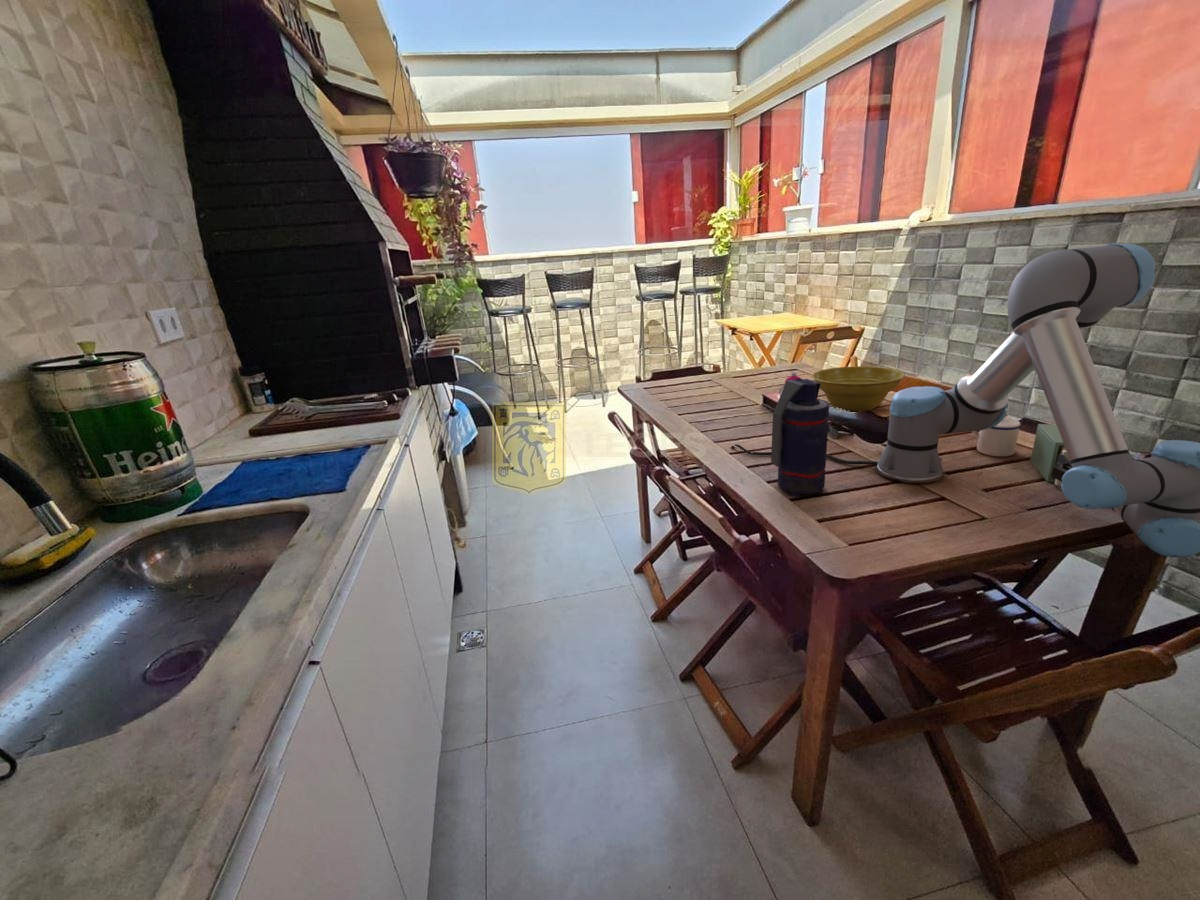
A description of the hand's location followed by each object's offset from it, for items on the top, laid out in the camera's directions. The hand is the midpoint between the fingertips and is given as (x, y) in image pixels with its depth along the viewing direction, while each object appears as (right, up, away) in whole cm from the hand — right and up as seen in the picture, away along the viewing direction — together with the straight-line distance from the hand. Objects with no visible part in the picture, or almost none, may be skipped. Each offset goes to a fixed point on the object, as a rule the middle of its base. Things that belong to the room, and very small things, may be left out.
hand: (1093, 461), depth 114 cm
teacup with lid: (-1, +3, +30) cm, 30 cm away
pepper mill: (-45, +22, +65) cm, 81 cm away
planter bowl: (-14, +20, +80) cm, 84 cm away
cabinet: (+6, -3, +12) cm, 13 cm away
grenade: (-61, -8, +19) cm, 65 cm away
